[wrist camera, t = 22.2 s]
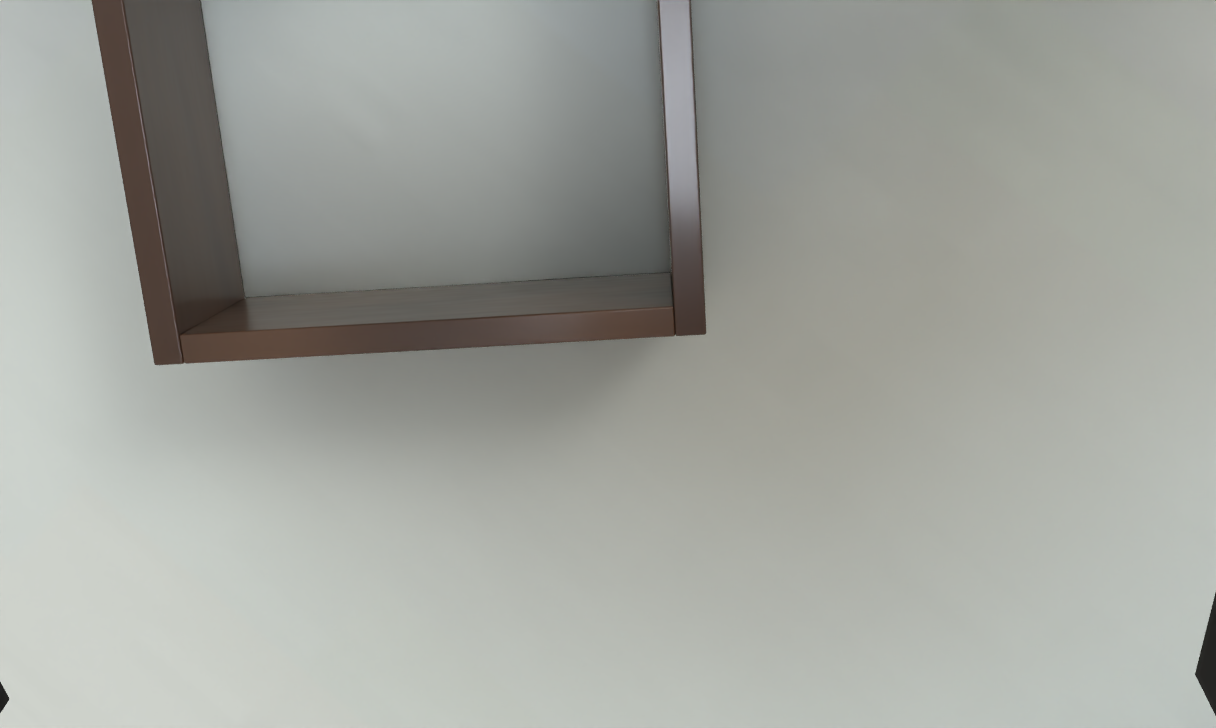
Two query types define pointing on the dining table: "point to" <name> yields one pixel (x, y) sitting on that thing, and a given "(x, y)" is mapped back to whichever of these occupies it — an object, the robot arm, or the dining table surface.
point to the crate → (356, 320)
